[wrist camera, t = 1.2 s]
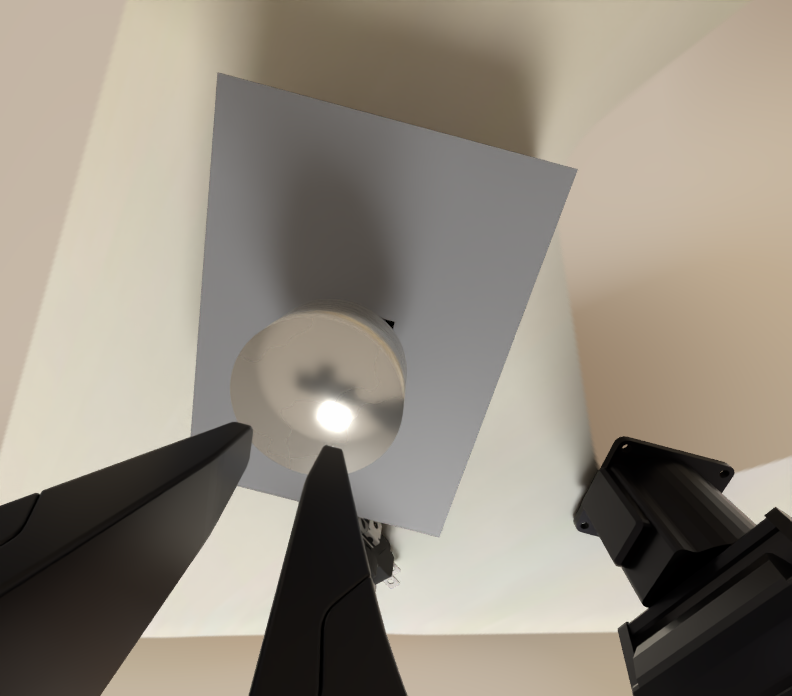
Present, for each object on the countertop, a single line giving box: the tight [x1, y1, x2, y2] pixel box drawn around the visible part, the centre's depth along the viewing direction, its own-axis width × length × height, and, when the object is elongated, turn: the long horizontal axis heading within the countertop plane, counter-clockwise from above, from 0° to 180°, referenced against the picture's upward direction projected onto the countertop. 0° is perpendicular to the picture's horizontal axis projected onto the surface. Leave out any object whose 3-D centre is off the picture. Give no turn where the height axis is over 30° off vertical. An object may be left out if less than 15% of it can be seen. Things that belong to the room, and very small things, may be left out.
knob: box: [230, 299, 407, 474], centre depth 14 cm, size 5×5×8 cm
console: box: [191, 73, 577, 537], centre depth 17 cm, size 12×16×5 cm
